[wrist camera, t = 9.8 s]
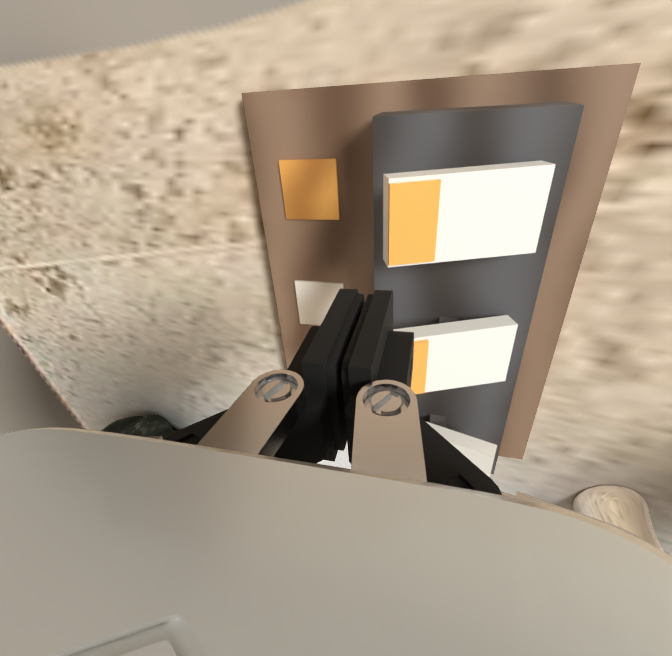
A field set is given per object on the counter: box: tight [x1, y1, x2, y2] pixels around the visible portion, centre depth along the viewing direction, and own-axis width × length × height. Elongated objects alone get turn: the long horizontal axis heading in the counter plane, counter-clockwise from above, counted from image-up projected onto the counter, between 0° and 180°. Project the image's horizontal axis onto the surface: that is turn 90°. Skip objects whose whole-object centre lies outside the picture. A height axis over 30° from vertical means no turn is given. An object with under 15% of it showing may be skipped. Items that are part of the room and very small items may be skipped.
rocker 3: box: [427, 422, 497, 477], centre depth 29 cm, size 8×4×2 cm, turn 93°
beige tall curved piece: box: [573, 485, 665, 552], centre depth 31 cm, size 7×7×15 cm
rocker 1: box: [383, 160, 556, 267], centre depth 19 cm, size 8×4×2 cm, turn 94°
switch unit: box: [242, 63, 641, 474], centre depth 28 cm, size 22×30×6 cm
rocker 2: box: [393, 315, 518, 394], centre depth 24 cm, size 8×4×2 cm, turn 94°
